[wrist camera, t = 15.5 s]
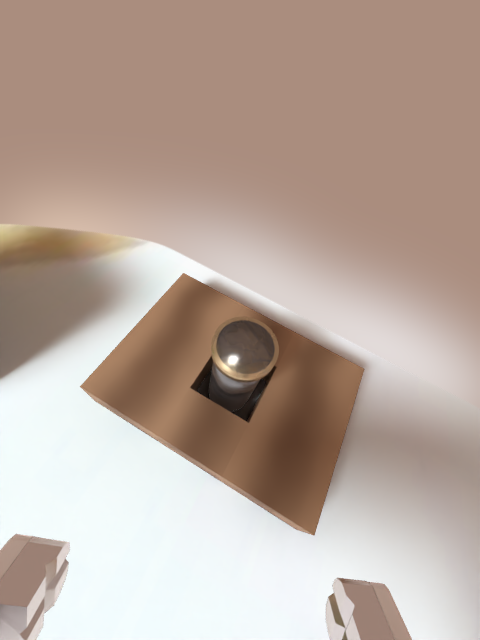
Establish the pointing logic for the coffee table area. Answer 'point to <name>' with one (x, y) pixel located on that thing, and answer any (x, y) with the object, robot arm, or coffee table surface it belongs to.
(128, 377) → the socket block
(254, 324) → the grey upright cylinder
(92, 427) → the coffee table surface
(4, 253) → the coffee table surface
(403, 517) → the coffee table surface
